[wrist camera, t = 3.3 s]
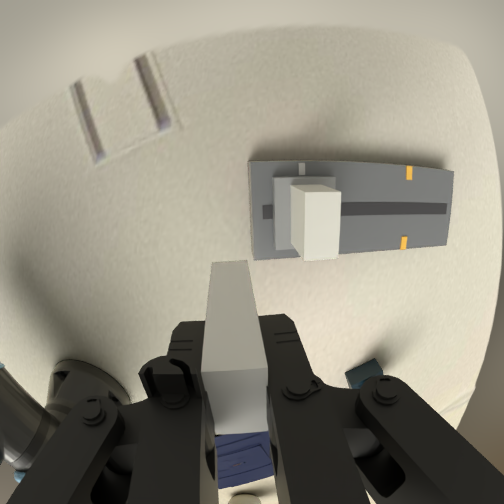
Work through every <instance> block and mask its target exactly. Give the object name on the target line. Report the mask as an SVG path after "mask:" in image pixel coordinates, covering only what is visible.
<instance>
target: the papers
mask: <svg viewBox="0 0 504 504" xmlns="http://www.w3.org/2000/svg"><path fill="white" fill-rule="evenodd" d="M215 445H216V449H217V472H218V489H223V488H227V487H234V486H238V485H242V484H246V483H249V482H253V481H257V480H260V479H263V478H267V477H270V476H273V475H274V471H273V465H272V459H271V458H269V455H270V437H269V431H263V432H252V433H239V434H225V435H222V436H218V437H215Z"/></svg>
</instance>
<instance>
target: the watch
mask: <svg viewBox="0 0 504 504" xmlns="http://www.w3.org/2000/svg"><path fill="white" fill-rule="evenodd" d="M345 375H346V379H347V382H348V385H349V388H350V389H360V388H361V386H362V385H363V383H364V382H365V381H366V380H368V379H369V378H371V377H375V376H378V375H383V370H382V368H381V367H380V365H379V364H378V362H377V361H376V359H375V358H374V359H372V360H371V361H369V362H367V363H365V364H363V365H360V366H358V367H356V368H354V369H352V370H350V371H348V372H346V373H345Z"/></svg>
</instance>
